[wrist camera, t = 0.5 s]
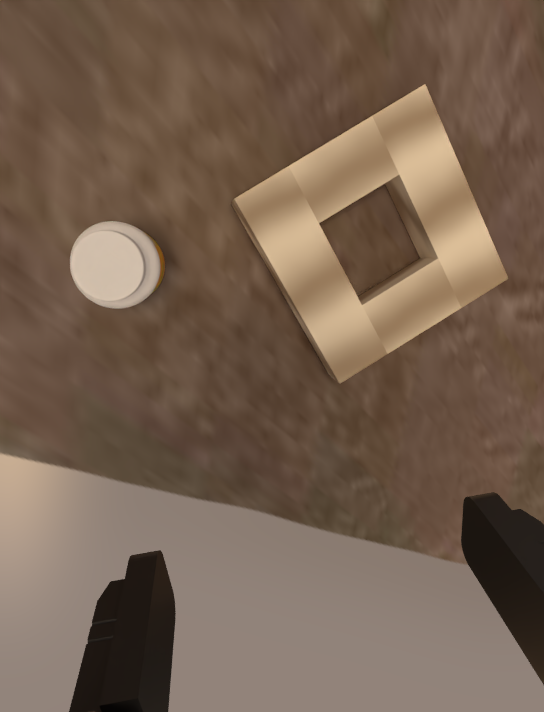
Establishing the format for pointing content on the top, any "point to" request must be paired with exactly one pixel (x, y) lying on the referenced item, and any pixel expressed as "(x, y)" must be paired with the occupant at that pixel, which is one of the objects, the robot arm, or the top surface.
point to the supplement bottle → (116, 264)
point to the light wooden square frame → (418, 212)
